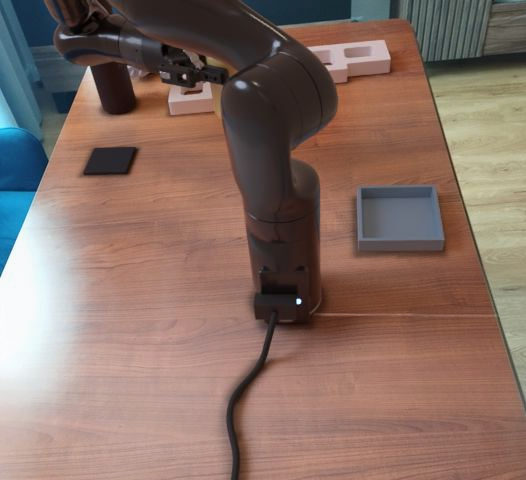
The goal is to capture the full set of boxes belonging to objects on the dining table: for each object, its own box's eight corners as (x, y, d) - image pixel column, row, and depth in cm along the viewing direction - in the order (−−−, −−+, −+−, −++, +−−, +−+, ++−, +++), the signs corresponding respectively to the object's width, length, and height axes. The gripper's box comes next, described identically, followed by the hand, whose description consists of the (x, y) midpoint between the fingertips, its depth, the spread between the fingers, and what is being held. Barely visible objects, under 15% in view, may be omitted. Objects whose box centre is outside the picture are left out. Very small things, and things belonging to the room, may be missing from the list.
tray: (442, 253, 86) (445, 239, 84) (358, 254, 87) (358, 240, 85) (433, 197, 94) (435, 184, 92) (356, 199, 95) (357, 185, 93)
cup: (260, 115, 89) (253, 47, 81) (217, 123, 89) (206, 55, 81) (252, 94, 93) (245, 28, 86) (211, 102, 93) (200, 36, 85)
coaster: (126, 174, 105) (125, 171, 105) (83, 174, 106) (82, 172, 106) (135, 148, 110) (135, 146, 110) (95, 150, 111) (94, 147, 111)
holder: (383, 52, 126) (384, 39, 124) (397, 94, 115) (398, 80, 112) (177, 72, 128) (174, 59, 126) (170, 115, 117) (167, 102, 115)
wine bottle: (135, 112, 118) (89, -61, 95) (101, 116, 119) (46, -56, 95) (138, 95, 123) (94, -74, 100) (105, 99, 123) (53, -69, 100)
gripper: (118, 41, 85) (208, 61, 78) (179, 3, 92) (267, 19, 85) (131, 91, 91) (217, 114, 84) (188, 52, 98) (271, 70, 91)
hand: (242, 66), depth 85 cm, fingers closed on cup, 6 cm apart
